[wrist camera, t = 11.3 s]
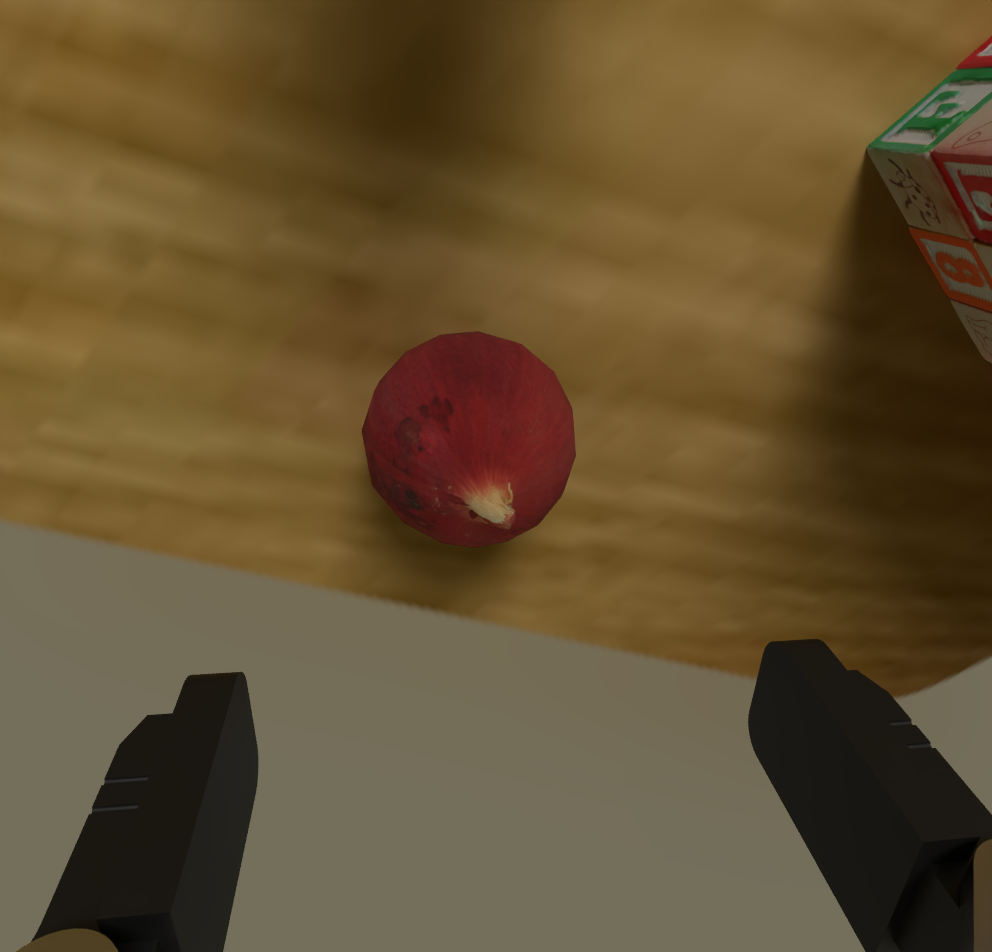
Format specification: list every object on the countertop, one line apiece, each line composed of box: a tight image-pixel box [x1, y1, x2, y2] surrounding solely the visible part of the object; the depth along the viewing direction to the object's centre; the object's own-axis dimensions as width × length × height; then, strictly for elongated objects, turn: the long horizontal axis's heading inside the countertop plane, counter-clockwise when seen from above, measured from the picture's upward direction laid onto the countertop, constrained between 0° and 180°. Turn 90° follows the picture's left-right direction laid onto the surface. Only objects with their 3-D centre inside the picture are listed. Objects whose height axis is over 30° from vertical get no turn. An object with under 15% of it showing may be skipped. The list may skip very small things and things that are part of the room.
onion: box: [362, 331, 576, 548], centre depth 20 cm, size 6×6×8 cm
